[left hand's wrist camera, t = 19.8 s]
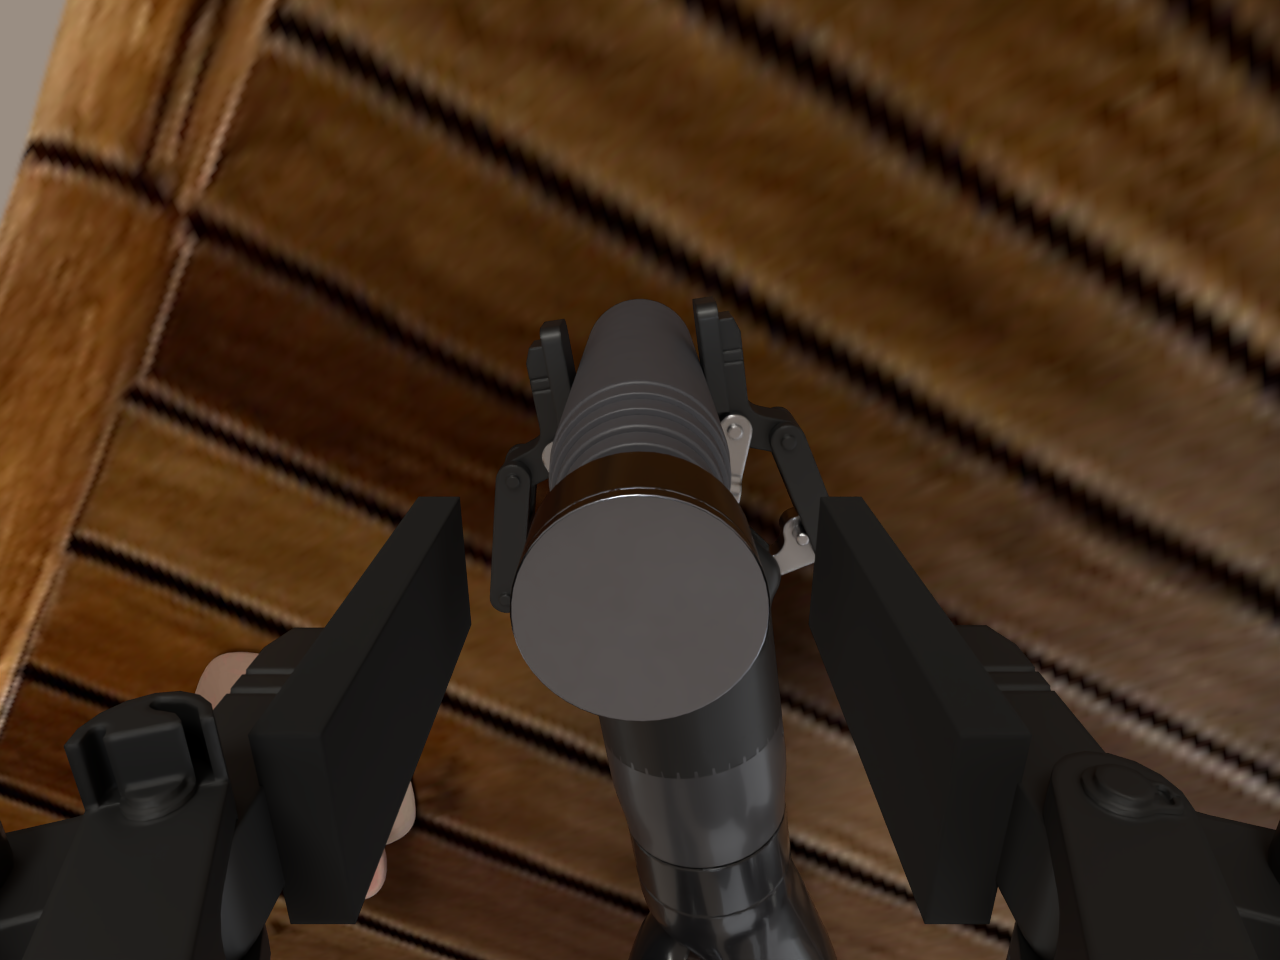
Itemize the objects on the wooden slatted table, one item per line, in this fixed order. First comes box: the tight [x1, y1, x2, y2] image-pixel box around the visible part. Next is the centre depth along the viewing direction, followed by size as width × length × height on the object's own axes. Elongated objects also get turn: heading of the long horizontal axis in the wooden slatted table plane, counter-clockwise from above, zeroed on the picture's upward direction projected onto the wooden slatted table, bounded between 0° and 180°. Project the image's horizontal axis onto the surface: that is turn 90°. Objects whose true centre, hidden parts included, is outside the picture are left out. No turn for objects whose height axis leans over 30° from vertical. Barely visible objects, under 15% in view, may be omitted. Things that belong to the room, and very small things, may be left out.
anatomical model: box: [195, 652, 416, 899], centre depth 39 cm, size 13×4×12 cm
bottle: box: [549, 299, 731, 491], centre depth 23 cm, size 5×5×21 cm
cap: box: [510, 451, 770, 721], centre depth 14 cm, size 4×4×2 cm
